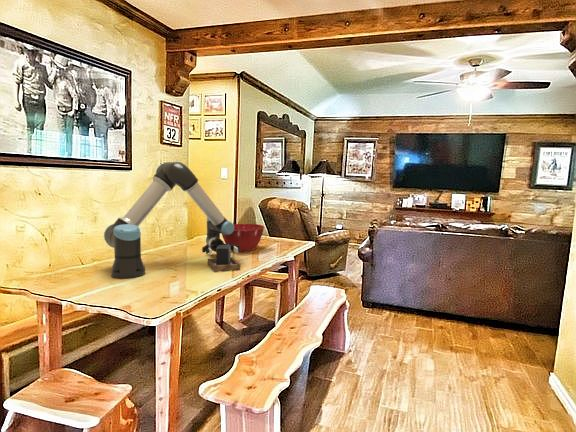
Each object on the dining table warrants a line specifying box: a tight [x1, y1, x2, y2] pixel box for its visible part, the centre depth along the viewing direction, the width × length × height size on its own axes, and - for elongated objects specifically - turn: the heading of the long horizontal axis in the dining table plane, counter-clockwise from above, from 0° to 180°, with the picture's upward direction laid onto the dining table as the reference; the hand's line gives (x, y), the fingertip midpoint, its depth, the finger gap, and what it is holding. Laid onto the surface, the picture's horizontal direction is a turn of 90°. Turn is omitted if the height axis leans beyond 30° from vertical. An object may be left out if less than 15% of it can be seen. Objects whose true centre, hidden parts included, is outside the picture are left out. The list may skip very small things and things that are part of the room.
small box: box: [215, 245, 232, 265], centre depth 199 cm, size 11×6×10 cm, turn 1°
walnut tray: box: [207, 256, 241, 273], centre depth 200 cm, size 13×17×3 cm
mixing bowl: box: [221, 223, 265, 253], centre depth 245 cm, size 28×28×16 cm
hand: (224, 251), depth 197 cm, fingers open, 13 cm apart
